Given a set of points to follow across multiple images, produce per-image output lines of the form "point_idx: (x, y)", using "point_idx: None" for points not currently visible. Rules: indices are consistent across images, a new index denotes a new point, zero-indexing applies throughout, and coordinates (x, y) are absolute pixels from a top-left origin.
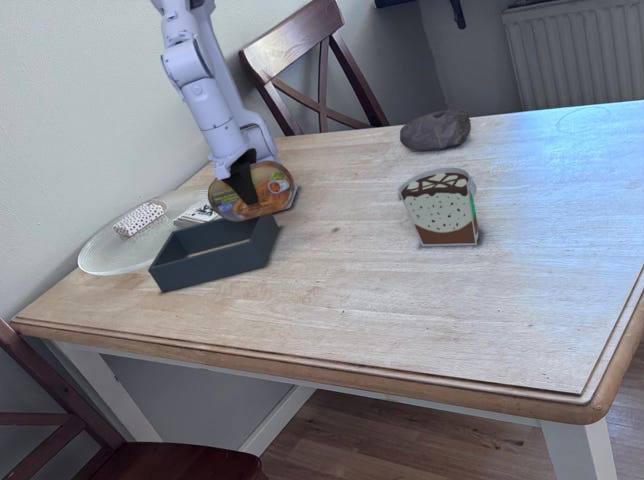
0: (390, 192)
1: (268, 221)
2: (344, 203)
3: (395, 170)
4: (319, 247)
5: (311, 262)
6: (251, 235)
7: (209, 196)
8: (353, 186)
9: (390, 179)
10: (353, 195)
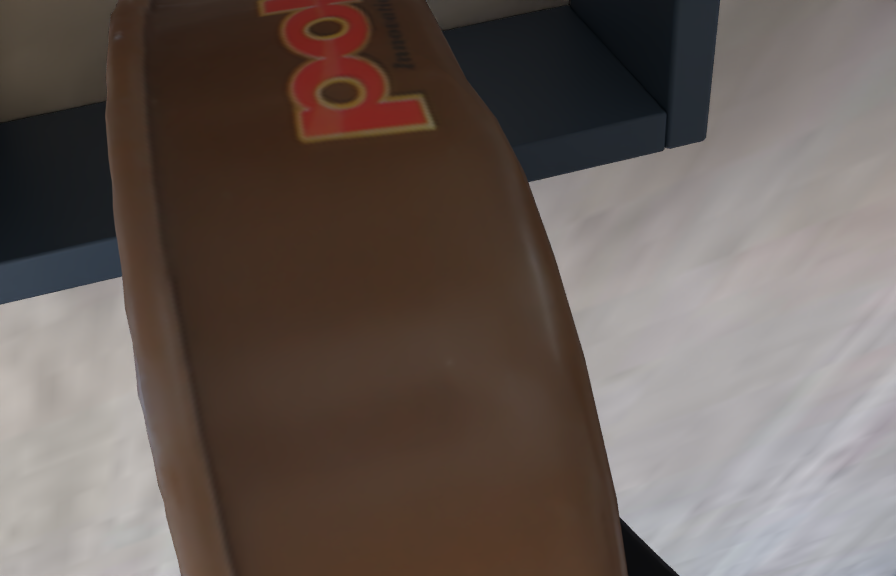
0: (661, 544)
1: None
2: (694, 381)
3: (875, 489)
4: None
5: (39, 466)
6: (72, 249)
7: (175, 178)
8: (873, 356)
9: (797, 500)
10: (758, 394)
